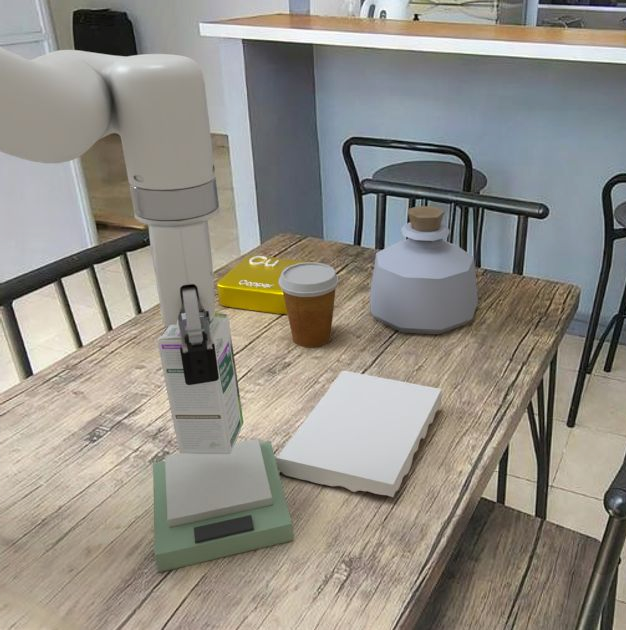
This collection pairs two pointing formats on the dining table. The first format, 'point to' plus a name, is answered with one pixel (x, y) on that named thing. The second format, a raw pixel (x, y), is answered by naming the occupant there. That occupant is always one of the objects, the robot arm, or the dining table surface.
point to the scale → (218, 505)
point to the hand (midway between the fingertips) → (199, 360)
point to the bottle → (424, 278)
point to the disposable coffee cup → (309, 301)
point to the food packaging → (361, 434)
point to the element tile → (255, 284)
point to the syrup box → (203, 393)
